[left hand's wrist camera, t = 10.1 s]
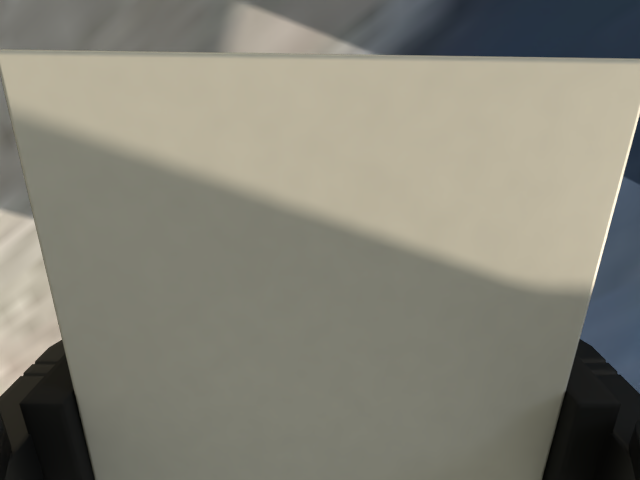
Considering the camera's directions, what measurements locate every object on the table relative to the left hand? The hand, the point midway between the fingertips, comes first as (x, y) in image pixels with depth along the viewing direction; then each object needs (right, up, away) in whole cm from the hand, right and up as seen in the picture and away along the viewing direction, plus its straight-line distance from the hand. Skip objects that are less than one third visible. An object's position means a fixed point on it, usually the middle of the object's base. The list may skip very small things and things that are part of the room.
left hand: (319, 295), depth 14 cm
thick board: (0, -27, +11) cm, 30 cm away
